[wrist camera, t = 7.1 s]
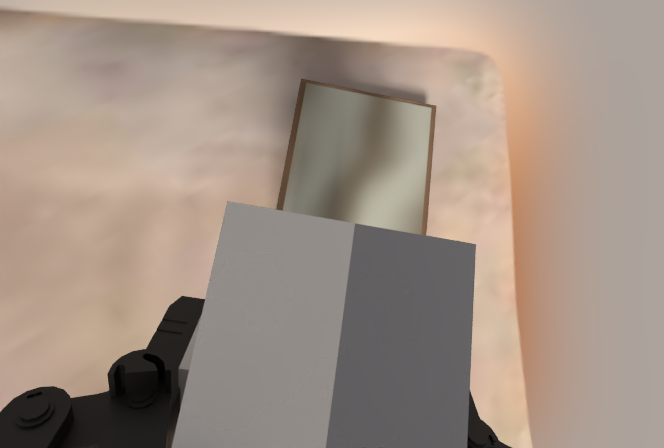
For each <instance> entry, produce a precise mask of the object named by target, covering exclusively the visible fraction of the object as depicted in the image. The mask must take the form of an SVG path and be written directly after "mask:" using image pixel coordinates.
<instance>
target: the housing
mask: <svg viewBox="0 0 664 448" xmlns="http://www.w3.org/2000/svg"><path fill="white" fill-rule="evenodd" d="M475 251H476V244H471V243H465V242H460V241H454V240H448V239H442V238H437V237H431V236H425V235H419V234H413V233H408V232H402V231H396V230H390V229H385V228H379V227H373V226H367V225H362V224H356V223H350V222H344V221H339V220H333V219H327V218H321V217H316V216H310V215H304V214H298V213H292V212H287V211H281V210H275V209H269V208H264V207H258V206H252V205H246V204H241V203H235V202H229V201H227V205H226V210H225V214H224V219H223V223H222V227H221V232H220V236H219V241H218V245H217V249H216V254H215V258H214V263H213V267H212V271H211V276H210V280H209V285H208V289H207V294H206V298H205V302H204V307H203V311H202V316H201V320H200V324H199V329H198V333H197V338H196V342H195V346H194V351H193V355H192V360H191V364H190V369H189V373H188V377H187V382H186V386H185V391H184V395H183V399H182V404H181V408H180V413H179V417H178V421H177V426H176V430H175V435H174V439H173V444H172V448H467V437H468V414H469V391H470V367H471V344H472V321H473V297H474V274H475Z"/></svg>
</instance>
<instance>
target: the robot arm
mask: <svg viewBox="0 0 664 448" xmlns="http://www.w3.org/2000/svg"><path fill="white" fill-rule="evenodd" d="M204 302H205V299H199V298H192V297H185V296H182V297H180V298H179V299H178V300H176V301H175V302H174V303H173V304H171V305H170V306H169V308H168V310H167V312H166V313H165V315H164V317H163V320H162V321H161V323H160V324H159V326H158V328H157V331H156V332H155V334H154V335H153V337H152V339H151V341H150V343H149V345H148V347H147V348H146V349H143V350H138V351H133V352H130V353H128V354H126V355H124V356H122V357H121V358H119V359H118V360H117V361H116V362H115V363H114V364H113V365H112V367H111V368H110V370H109V372H108V382H109V391H107V392H104V393H99V394H95V395H88V396H82V397H75V398H70V396H69V395H68V394H67V392H66V391H65V390H63V389H60V388H57V387H54V386H52V387H39V388H36V389H33V390H29V391H26V392H25V393H23V394H21V395H19V396H18V397H16V398H14V399H13V400H12V401H11V402H10V403H9V404H8V405H7V406H6V407H5V408H3V410H2V411H1V412H0V448H172V444H173V439H174V435H175V430H176V426H177V421H178V417H179V413H180V408H181V404H182V399H183V395H184V391H185V386H186V382H187V377H188V373H189V369H190V364H191V360H192V355H193V351H194V346H195V342H196V338H197V333H198V329H199V324H200V320H201V316H202V311H203V307H204ZM467 448H511V447H509V446H507V445H505V444H503V443H502V442H500V441H499V440H498V437H497V436H496V435H495V433H494V432H493V430H492V429H491V428H490V427H489V426H488V425H487V424H486V423H485V422H484V421H482V420H480V418H479V416H478V413H477V410H476V407H475V404H474V401H473V398H472V395H471V392H470V391H469V414H468V437H467Z"/></svg>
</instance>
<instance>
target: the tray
mask: <svg viewBox="0 0 664 448" xmlns="http://www.w3.org/2000/svg"><path fill="white" fill-rule="evenodd" d="M435 115H436V106H434V105H429V104H424V103H419V102H414V101H410V100H405V99H400V98H395V97H390V96H385V95H380V94H375V93H370V92H365V91H360V90H355V89H350V88H345V87H340V86H335V85H330V84H325V83H320V82H315V81H310V80H305V79H301V83H300V88H299V93H298V99H297V104H296V109H295V114H294V120H293V125H292V130H291V135H290V141H289V146H288V151H287V156H286V162H285V167H284V172H283V177H282V183H281V188H280V193H279V198H278V204H277V209H276V210H281V211H287V212H292V213H298V214H304V215H310V216H316V217H321V218H327V219H333V220H339V221H344V222H350V223H356V224H362V225H367V226H373V227H379V228H385V229H390V230H396V231H402V232H408V233H413V234H419V235H425V236H426V231H427V218H428V205H429V192H430V179H431V167H432V154H433V141H434V128H435Z"/></svg>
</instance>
